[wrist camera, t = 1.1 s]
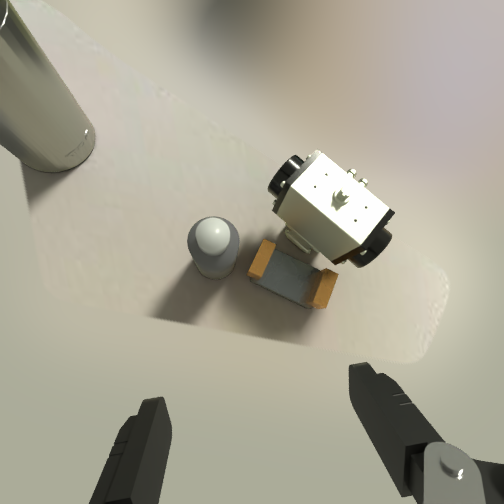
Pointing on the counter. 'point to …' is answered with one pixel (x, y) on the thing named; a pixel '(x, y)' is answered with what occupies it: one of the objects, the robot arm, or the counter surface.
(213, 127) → the counter surface
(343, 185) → the pneumatic valve
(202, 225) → the bottle
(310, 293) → the clip bracket
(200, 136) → the counter surface
